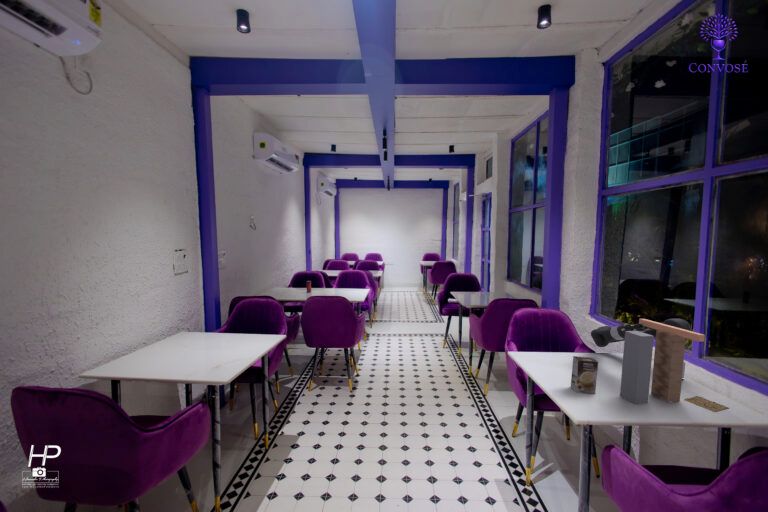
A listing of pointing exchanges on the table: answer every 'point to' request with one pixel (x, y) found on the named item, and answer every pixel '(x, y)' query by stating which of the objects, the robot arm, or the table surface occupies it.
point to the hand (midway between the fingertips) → (649, 325)
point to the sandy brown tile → (706, 404)
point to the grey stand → (636, 367)
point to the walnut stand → (668, 366)
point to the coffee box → (584, 374)
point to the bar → (673, 330)
